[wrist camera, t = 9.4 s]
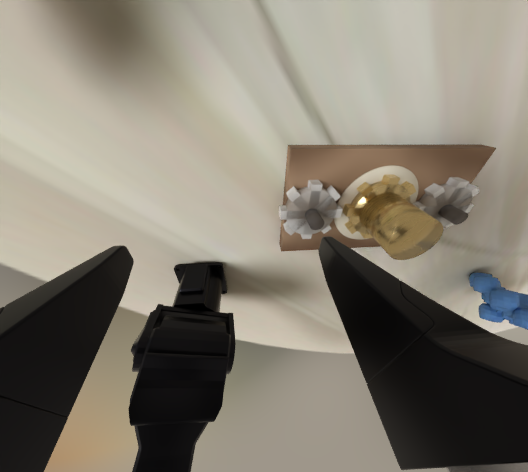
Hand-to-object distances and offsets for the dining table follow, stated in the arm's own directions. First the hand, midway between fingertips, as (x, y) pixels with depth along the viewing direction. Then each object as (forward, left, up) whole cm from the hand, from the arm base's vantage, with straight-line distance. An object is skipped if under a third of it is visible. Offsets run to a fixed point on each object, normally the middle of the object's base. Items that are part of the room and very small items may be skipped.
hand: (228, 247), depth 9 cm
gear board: (-4, -15, -12) cm, 20 cm away
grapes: (-20, -40, -12) cm, 46 cm away
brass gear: (-4, -15, -10) cm, 19 cm away
